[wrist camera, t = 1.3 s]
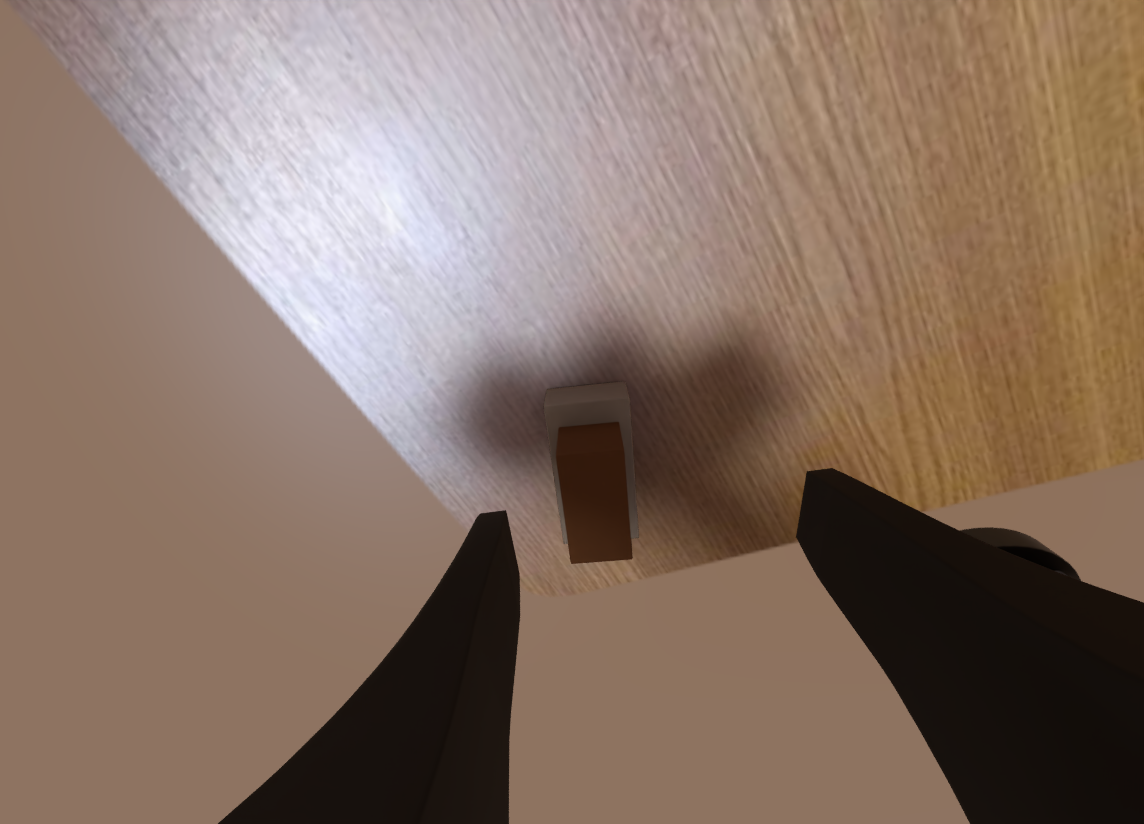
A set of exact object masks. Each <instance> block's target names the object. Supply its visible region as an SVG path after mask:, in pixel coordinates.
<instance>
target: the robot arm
mask: <svg viewBox="0 0 1144 824" xmlns="http://www.w3.org/2000/svg"><path fill="white" fill-rule="evenodd" d="M796 538H797V539H798V541H799V543H800V545H801V547H802V549H803V551H804V553H805V555H806V557H807V559H808V561H809V563H810V564H811V566H812V568H813V570H814V572H815V573H816V575H817V577H818V578H819V580H820V581H821V583H822V584H823V586H824V587H825V588H826V590H827V591H828V593H829V594H830V596H831V597H832V598H833V600H834V601H835V603H836V604H837V606H838V607H839V608H840V610H841V611H842V613H843V614H844V615H845V617H846V618H847V620H848V621H849V622H850V624H851V625H852V627H853V628H854V629H855V631H856V632H857V634H858V635H859V636H860V638H861V639H862V640H863V642H864V643H865V645H866V646H867V647H868V649H869V650H870V652H871V653H872V655H873V656H874V657H875V659H876V660H877V662H878V663H879V664H880V666H881V667H882V669H883V670H884V672H885V673H886V675H887V676H888V678H889V679H890V681H891V683H892V684H893V686H894V687H895V689H896V691H897V692H898V694H899V696H900V697H901V699H902V701H903V703H904V704H905V706H906V708H907V709H908V711H909V713H910V715H911V716H912V718H913V720H914V721H915V723H916V725H917V726H918V728H919V730H920V732H921V733H922V735H923V737H924V739H925V741H926V742H927V744H928V746H929V748H930V749H931V751H932V753H933V755H934V757H935V758H936V760H937V762H938V764H939V766H940V768H941V769H942V771H943V773H944V775H945V777H946V778H947V780H948V782H949V784H950V786H951V788H952V789H953V792H954V793H955V795H956V797H957V799H958V801H959V803H960V805H961V807H962V809H963V811H964V813H965V815H966V816H967V819H968V821H969V822H970V824H1144V603H1143V602H1140V601H1137V600H1134V599H1131V598H1128V597H1125V596H1122V595H1119V594H1116V593H1113V592H1111V591H1108V590H1105V589H1102V588H1099V587H1096V586H1093V585H1090V584H1088V583H1085V582H1082V581H1079V580H1077V579H1074V578H1071V577H1068V576H1067V575H1066V574H1064V573H1063V572H1061V571H1053V570H1050V569H1048V568H1045V567H1043V566H1040V565H1038V564H1035V563H1033V562H1030V561H1028V560H1025V559H1023V558H1020V557H1018V556H1015V555H1013V554H1010V553H1008V552H1006V551H1003V550H1001V549H999V548H996V547H994V546H992V545H990V544H987V543H985V542H983V541H981V540H979V539H976V538H974V537H972V536H970V535H968V534H965V533H963V532H961V531H959V530H956V529H955V528H952V527H950V526H948V525H946V524H944V523H942V522H940V521H938V520H936V519H934V518H932V517H930V516H928V515H926V514H924V513H922V512H920V511H918V510H916V509H914V508H912V507H910V506H908V505H906V504H904V503H902V502H900V501H898V500H896V499H894V498H892V497H890V496H888V495H886V494H884V493H882V492H880V491H878V490H876V489H874V488H872V487H870V486H868V485H866V484H864V483H862V482H861V481H859V480H857V479H854V478H852V477H850V476H848V475H846V474H844V473H842V472H840V471H837V470H835V469H833V468H830V469H822V470H814V471H807V474H806V480H805V486H804V492H803V498H802V504H801V510H800V517H799V523H798V529H797V535H796ZM519 622H520V576H519V569H518V564H517V560H516V555H515V550H514V546H513V541H512V536H511V531H510V527H509V522H508V517H507V513H506V510H505V511H497V512H489V513H481V514H480V515H479V516H478V517H477V518H476V520H475V522H474V524H473V526H472V528H471V530H470V531H469V533H468V535H467V537H466V539H465V541H464V543H463V544H462V546H461V548H460V550H459V551H458V553H457V555H456V556H455V558H454V560H453V562H452V563H451V565H450V566H449V568H448V570H447V571H446V573H445V574H444V576H443V578H442V579H441V581H440V583H439V584H438V586H437V587H436V589H435V590H434V592H433V593H432V595H431V596H430V598H429V599H428V601H427V602H426V604H425V605H424V607H423V608H422V609H421V611H420V612H419V614H418V615H417V616H416V618H415V619H414V621H413V622H412V624H411V625H410V626H409V628H408V629H407V630H406V631H405V633H404V634H403V636H402V637H401V638H400V639H399V641H398V642H397V643H396V645H395V646H394V647H393V648H392V650H391V651H390V652H389V653H388V654H387V656H386V657H385V658H384V659H383V661H382V662H381V663H380V664H379V665H378V667H377V668H376V669H375V670H374V671H373V672H372V674H371V675H370V676H369V677H368V678H367V679H366V680H365V681H364V683H363V684H362V685H361V686H360V687H359V688H358V690H357V691H356V692H355V693H354V694H353V695H352V696H351V697H350V698H349V700H348V701H347V702H346V703H345V704H344V705H343V706H342V707H341V708H340V709H339V710H338V711H337V712H336V714H335V715H334V716H333V717H332V718H331V719H330V720H329V721H328V722H327V723H326V724H325V725H324V726H323V727H322V728H321V729H320V730H319V731H318V732H317V733H316V734H315V735H314V736H313V737H312V738H311V739H310V740H309V741H308V742H307V743H306V744H305V745H304V746H303V747H302V748H301V749H300V750H299V751H298V752H296V753H295V755H293V757H291V759H289V760H288V761H287V762H286V763H285V764H284V765H283V766H282V767H281V768H280V769H279V770H278V771H277V772H276V773H275V774H273V775H272V777H270V778H269V779H268V780H267V781H266V782H265V783H264V784H263V785H261V787H259V788H258V789H257V790H256V791H255V792H253V793H252V794H251V795H250V796H249V797H248V798H247V799H245V800H244V801H243V802H242V803H241V804H240V805H239V806H238V807H236V808H235V809H234V810H233V811H232V812H231V813H229V814H228V815H227V816H226V817H225V818H224V819H223V820H222V821H220V822H219V823H218V824H509V735H510V718H511V706H512V696H513V685H514V675H515V665H516V654H517V644H518V633H519Z"/></svg>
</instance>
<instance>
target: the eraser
mask: <svg viewBox="0 0 1144 824" xmlns="http://www.w3.org/2000/svg"><path fill="white" fill-rule="evenodd" d="M543 407H544V414H545V421H546V427H547V434H548V441H549V448H550V454H551V461H552V468H553V475H554V481H555V488H556V495H557V502H558V509H559V515H560V522H561V529H562V536H563V542H564V544H568V547H569V554H570V561H571V564H576V563H589V562H602V561H615V560H628V559H632V558H633V557H632V544H631V539H632V538H639V529H638V514H637V499H636V484H635V470H634V455H633V440H632V425H631V410H630V397H629V394H628V390H627V386H626V383H625V382H624V381H623V382H613V383H603V384H593V385H583V386H573V387H563V388H553V389H547V391H546V396H545V401H544V406H543Z"/></svg>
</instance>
